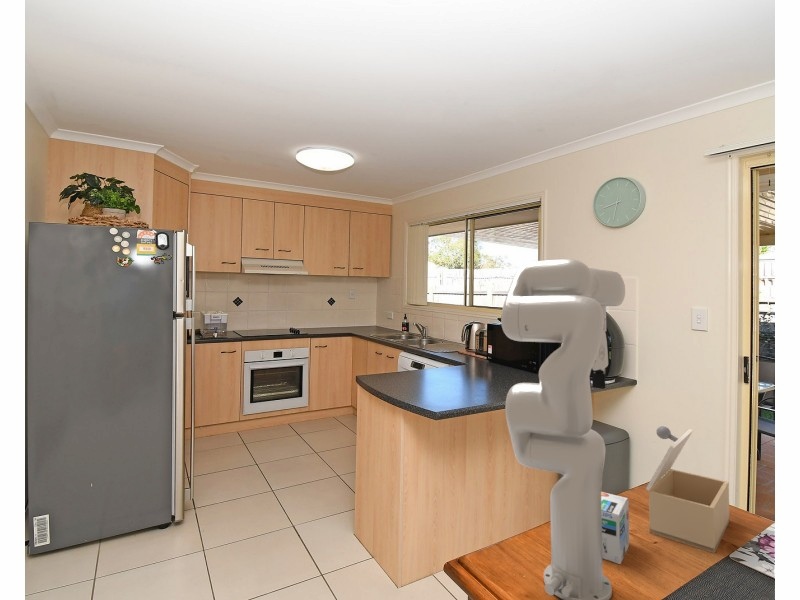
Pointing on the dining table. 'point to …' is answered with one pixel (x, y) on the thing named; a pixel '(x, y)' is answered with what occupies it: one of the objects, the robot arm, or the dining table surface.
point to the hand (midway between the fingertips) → (591, 390)
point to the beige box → (689, 509)
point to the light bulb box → (614, 527)
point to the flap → (668, 453)
